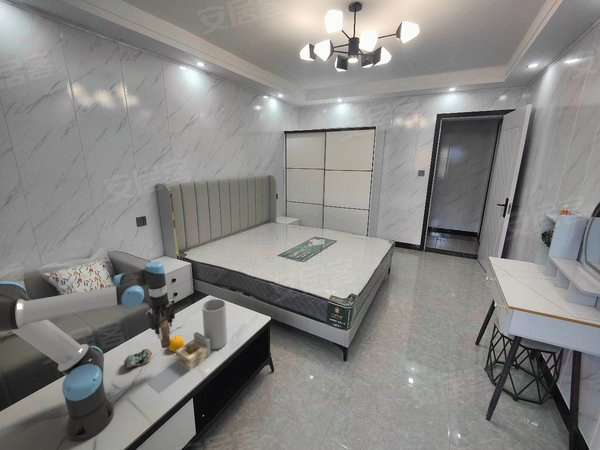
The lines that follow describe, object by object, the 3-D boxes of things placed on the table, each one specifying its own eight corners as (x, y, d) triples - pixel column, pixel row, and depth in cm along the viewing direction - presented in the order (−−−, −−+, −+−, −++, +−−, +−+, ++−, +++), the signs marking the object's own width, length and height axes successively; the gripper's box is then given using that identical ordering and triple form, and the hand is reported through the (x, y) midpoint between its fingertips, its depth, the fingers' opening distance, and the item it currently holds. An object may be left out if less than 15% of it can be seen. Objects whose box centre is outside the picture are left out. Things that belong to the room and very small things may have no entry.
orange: (173, 356, 142) (172, 344, 140) (166, 349, 147) (164, 338, 145) (187, 348, 148) (186, 337, 146) (179, 342, 153) (178, 331, 151)
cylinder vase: (200, 347, 149) (197, 309, 143) (212, 334, 161) (210, 297, 154) (220, 352, 146) (218, 312, 140) (230, 337, 158) (229, 300, 152)
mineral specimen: (124, 374, 129) (129, 359, 128) (121, 361, 135) (126, 347, 134) (151, 369, 137) (156, 355, 137) (147, 357, 144) (151, 344, 143)
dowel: (164, 349, 128) (160, 324, 124) (159, 346, 130) (156, 321, 126) (172, 344, 131) (168, 320, 128) (167, 341, 133) (164, 317, 130)
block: (189, 370, 132) (188, 359, 130) (176, 361, 137) (175, 350, 136) (207, 357, 141) (207, 347, 139) (194, 349, 146) (194, 339, 145)
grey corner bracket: (159, 395, 119) (156, 375, 116) (146, 384, 124) (143, 364, 122) (211, 356, 143) (209, 339, 140) (198, 348, 148) (196, 331, 145)
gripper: (144, 304, 114) (151, 349, 120) (179, 288, 128) (184, 329, 134) (135, 299, 118) (143, 343, 124) (170, 284, 132) (175, 324, 138)
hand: (164, 335), depth 129 cm, fingers closed on dowel, 4 cm apart
